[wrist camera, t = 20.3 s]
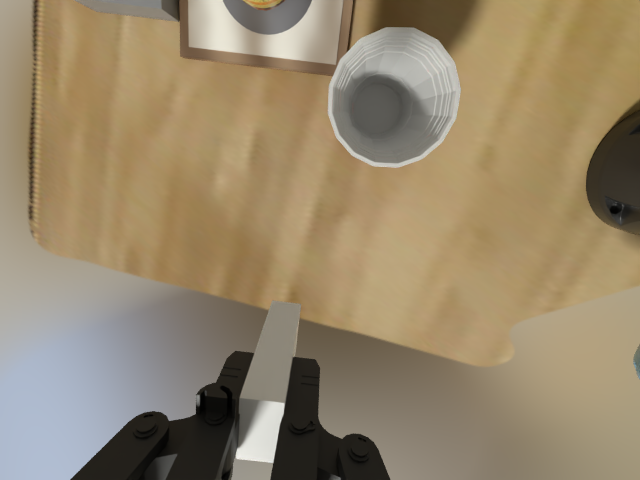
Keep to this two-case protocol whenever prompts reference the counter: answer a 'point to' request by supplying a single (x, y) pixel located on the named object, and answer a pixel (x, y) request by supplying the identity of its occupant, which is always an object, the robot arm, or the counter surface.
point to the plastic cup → (393, 97)
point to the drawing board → (267, 33)
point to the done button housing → (137, 8)
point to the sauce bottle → (264, 4)
